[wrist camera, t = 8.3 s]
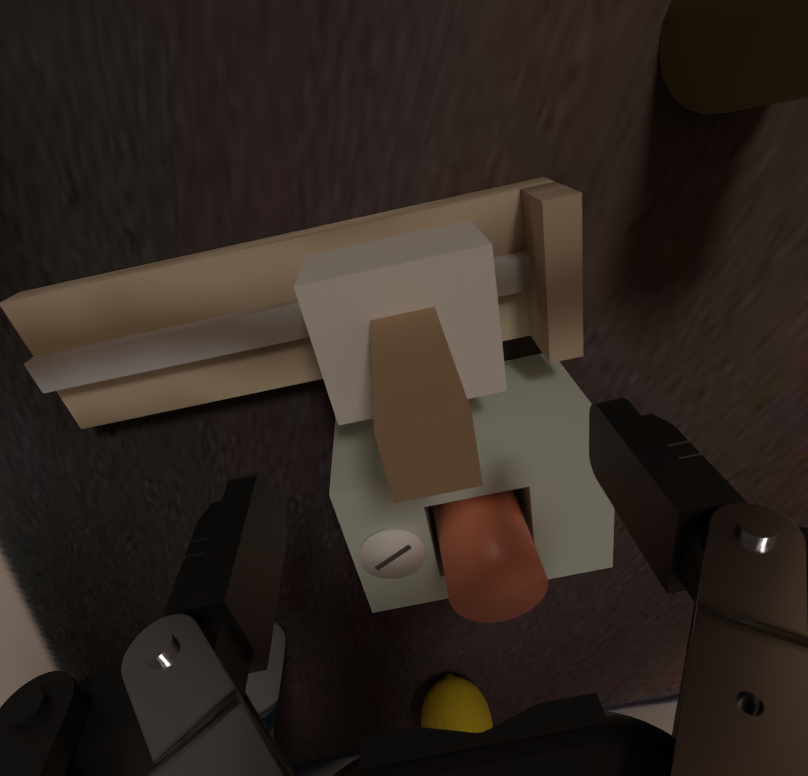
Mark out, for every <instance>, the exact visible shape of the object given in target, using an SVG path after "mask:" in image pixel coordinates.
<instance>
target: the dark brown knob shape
mask: <svg viewBox="0 0 808 776" xmlns="http://www.w3.org/2000/svg"><path fill="white" fill-rule="evenodd" d="M659 56H660V65H661V73H662V78H663V80H664V82H665V84H666V86H667V88H668V90H669V92H670V94H671V96H672V97H673V98H674V99H675V100H676V101H677V102H679V103H680V104H681V105H682V106H683V107H684V108H685V109H687V110H690V111H694V112H697V113H700V114H704V115H709V114H719V113H728V112H733V111H738V110H743V109H749V108H754V107H759V106H764V105H769V104H775V103H780V102H785V101H790V100H795V99H801V98H806V97H808V0H672V2H671V4H670V7H669V9H668V12H667V14H666V17H665V19H664V22H663V27H662V34H661V40H660V47H659Z"/></svg>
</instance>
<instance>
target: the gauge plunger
mask: <svg viewBox="0 0 808 776" xmlns="http://www.w3.org/2000/svg"><path fill="white" fill-rule="evenodd" d="M433 511H434V517H435V523H436V529H437V534H438V540H439V546H440V552H441V557H442V563H443V569H444V575H445V580H446V586H447V592H448V597H449V602H450V605H451V606H452V608H453V609H454V610H455V612H457V613H458V614H459V615H461V616H462V617H464V618H467V619H469V620H472V621H477V622H489V623H491V622H501V621H506V620H510V619H513V618H516V617H518V616H521V615H523V614H525V613H526V612H528V611H530V610H531V609H532V608H534V607H535V606H536V605H537V604H538V603H539V602H540V601H541V600H542V598H543V597H544V595H545V593H546V591H547V587H548V579H547V576H546V573H545V571H544V568H543V565H542V563H541V560H540V558H539V555H538V553H537V550H536V547H535V545H534V542H533V540H532V537H531V535H530V532H529V529H528V527H527V524H526V522H525V519H524V517H523V514H522V511H521V509H520V506H519V504H518V501H517V499H516V496H515V493H514V491H513V490H509V491H504V492H499V493H494V494H489V495H484V496H478V497H473V498H468V499H463V500H458V501H453V502H448V503H443V504H438V505H433Z"/></svg>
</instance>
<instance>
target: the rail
mask: <svg viewBox="0 0 808 776" xmlns="http://www.w3.org/2000/svg"><path fill="white" fill-rule="evenodd" d="M467 220H471V221H472V223H473V224H474V225H475V226H476V227H477V228H478V229H479V230H480V231H481V232H482V233H483V235H484V236H485V237H486V238H487V239H488V240H489V241H490V242H491V243H492V248H493V257H494V267H495V277H496V287H497V297H498V306H499V316H500V326H501V336H502V341H506V340H511V339H516V338H521V337H525V336H531V337H532V339H533V340H534V341H535V343H536V344H537V346H538V347H539V348H540V350H541V351H542V353H543V354H544V355H545V357H546V358H547V360H548V361H549V362H550V363H552V362H557V361H562V360H567V359H571V358H576V357H581V356H583V272H582V193H581V192H579V191H576V190H574V189H571V188H569V187H567V186H564V185H562V184H559V183H557V182H555V181H552V180H550V179H547V178H545V177H541V178H537V179H532V180H527V181H523V182H518V183H514V184H509V185H505V186H500V187H496V188H491V189H487V190H482V191H477V192H473V193H468V194H464V195H459V196H455V197H450V198H446V199H441V200H436V201H432V202H427V203H423V204H418V205H414V206H409V207H405V208H400V209H396V210H391V211H386V212H382V213H377V214H373V215H368V216H364V217H359V218H355V219H350V220H345V221H341V222H336V223H332V224H327V225H323V226H318V227H314V228H309V229H305V230H300V231H295V232H291V233H286V234H282V235H277V236H273V237H268V238H264V239H259V240H254V241H250V242H245V243H241V244H236V245H232V246H227V247H223V248H218V249H214V250H209V251H204V252H200V253H195V254H191V255H186V256H182V257H177V258H173V259H168V260H163V261H159V262H154V263H150V264H145V265H141V266H136V267H132V268H127V269H123V270H118V271H113V272H109V273H104V274H100V275H95V276H91V277H86V278H82V279H77V280H72V281H68V282H63V283H59V284H54V285H50V286H45V287H41V288H36V289H32V290H27V291H22V292H19V293H17V294H15V295H13V296H11V297H10V298H8V299H6V300H4V301H2V302H1V303H0V306H1V308H2V309H3V311H4V312H5V314H6V315H7V317H8V318H9V320H10V321H11V323H12V324H13V326H14V328H15V329H16V331H17V332H18V334H19V335H20V337H21V338H22V340H23V341H24V343H25V344H26V346H27V347H28V349H29V350H30V352H31V353H32V355H33V356H34V357H32V358H31V359H30V360H28V361H27V362H26V363H25V364H24V366H25V367H26V369H27V370H28V372H29V373H30V375H31V376H32V378H33V379H34V381H35V382H36V384H37V385H38V387H39V388H40V390H41V391H42V392H43V393H48V392H52V391H57V393H58V394H59V396H60V398H61V399H62V401H63V402H64V404H65V405H66V407H67V408H68V410H69V411H70V413H71V414H72V416H73V417H74V419H75V420H76V422H77V423H78V425H79V426H80V428H81V429H84V428H89V427H94V426H99V425H104V424H108V423H113V422H118V421H123V420H128V419H132V418H137V417H142V416H147V415H152V414H156V413H161V412H166V411H171V410H175V409H180V408H185V407H190V406H195V405H199V404H204V403H209V402H214V401H219V400H223V399H228V398H233V397H238V396H243V395H247V394H252V393H257V392H262V391H267V390H271V389H276V388H281V387H286V386H290V385H295V384H300V383H305V382H310V381H314V380H319V379H323V377H322V373H321V370H320V367H319V364H318V361H317V358H316V355H315V352H314V349H313V346H312V343H311V339H310V336H309V333H308V330H307V327H306V324H305V321H304V318H303V315H302V312H301V308H300V305H299V302H298V299H297V296H296V293H295V290H294V284H295V281H296V279H297V276H298V273H299V271H300V268H301V265H302V263H303V260H304V257H305V256H306V255H311V254H315V253H320V252H324V251H329V250H334V249H338V248H343V247H347V246H352V245H357V244H361V243H366V242H370V241H375V240H380V239H384V238H389V237H393V236H398V235H403V234H407V233H412V232H416V231H421V230H425V229H430V228H435V227H439V226H444V225H448V224H453V223H458V222H462V221H467Z"/></svg>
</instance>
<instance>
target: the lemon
mask: <svg viewBox="0 0 808 776" xmlns="http://www.w3.org/2000/svg"><path fill="white" fill-rule="evenodd" d="M421 727H426V728H435V729H444V730H454V731H463V732H472V733H480V732H484V731H486V730H488V729H490V728H492V727H493V725H492V718H491V714H490V711H489V708H488V705H487V703H486V701H485V699H484V697H483V695H482V693H481V692H480V691H479V689H478V688H477V687H476V686H475V685H474V684H472V683H471V682H470V681H468V680H466V679H464V678H460V677H456V676H455V675H453V674H452V673H448V674H446V675H445V676H444V678H443V679H441V680H439V681H438V682H436V683H435V684H434V685H433V686H432V687H431V688H430V690H429V691H428V693H427V695H426V697H425V699H424V702H423V707H422V717H421Z"/></svg>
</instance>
